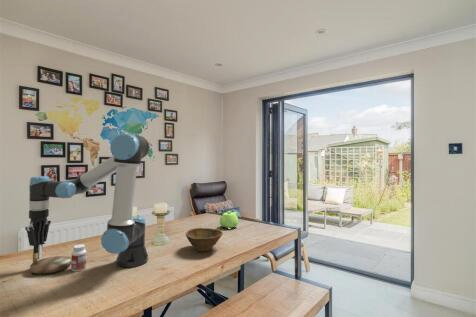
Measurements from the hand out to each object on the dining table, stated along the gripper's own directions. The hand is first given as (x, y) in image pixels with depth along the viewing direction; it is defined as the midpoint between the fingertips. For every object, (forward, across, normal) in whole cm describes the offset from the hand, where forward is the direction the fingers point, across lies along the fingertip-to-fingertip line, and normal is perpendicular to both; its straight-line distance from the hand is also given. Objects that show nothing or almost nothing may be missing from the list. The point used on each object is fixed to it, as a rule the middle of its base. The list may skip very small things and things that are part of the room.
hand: (37, 258), depth 126 cm
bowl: (+4, -35, +74) cm, 82 cm away
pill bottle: (+5, -1, +19) cm, 20 cm away
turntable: (+4, -1, +6) cm, 7 cm away
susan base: (+5, -1, +6) cm, 8 cm away
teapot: (+5, -85, +85) cm, 120 cm away
